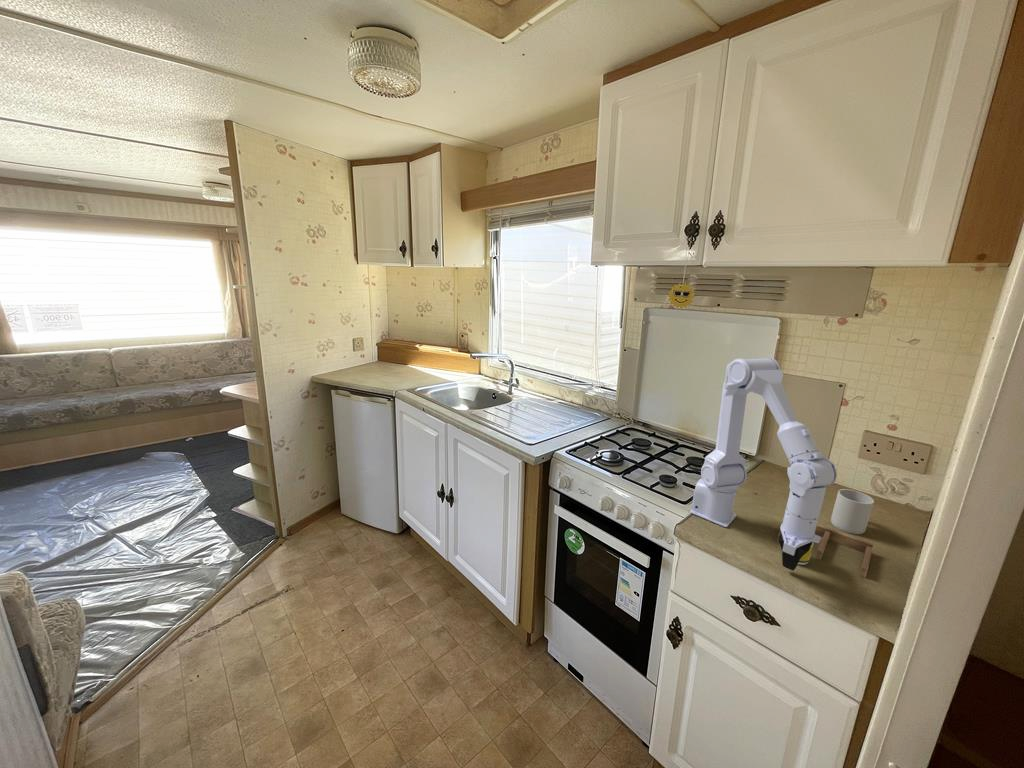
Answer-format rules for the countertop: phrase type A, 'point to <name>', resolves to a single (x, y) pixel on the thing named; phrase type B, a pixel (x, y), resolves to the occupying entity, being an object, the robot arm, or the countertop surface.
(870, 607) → the countertop surface
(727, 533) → the countertop surface
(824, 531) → the rack
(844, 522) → the cup
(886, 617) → the countertop surface
